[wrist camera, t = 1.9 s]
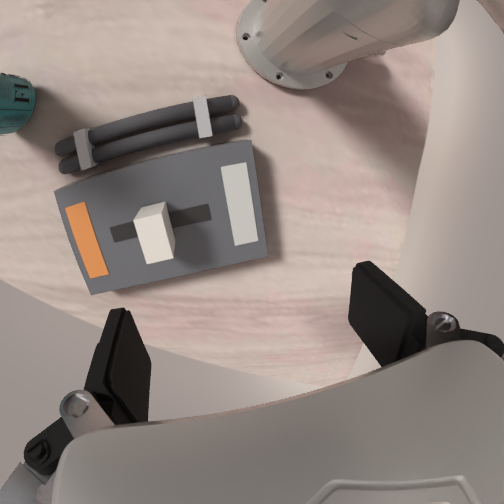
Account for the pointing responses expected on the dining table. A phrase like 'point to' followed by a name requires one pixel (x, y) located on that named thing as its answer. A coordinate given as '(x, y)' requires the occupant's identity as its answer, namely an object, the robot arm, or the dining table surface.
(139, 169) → the panel
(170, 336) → the dining table surface
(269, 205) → the dining table surface
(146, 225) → the block
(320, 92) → the dining table surface
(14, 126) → the beverage bottle
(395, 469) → the robot arm
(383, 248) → the dining table surface
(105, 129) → the dressed cords
